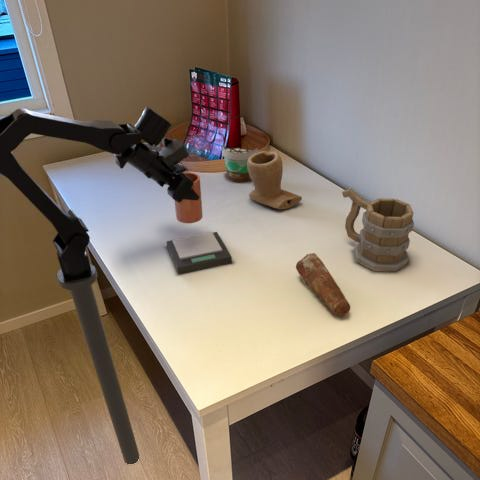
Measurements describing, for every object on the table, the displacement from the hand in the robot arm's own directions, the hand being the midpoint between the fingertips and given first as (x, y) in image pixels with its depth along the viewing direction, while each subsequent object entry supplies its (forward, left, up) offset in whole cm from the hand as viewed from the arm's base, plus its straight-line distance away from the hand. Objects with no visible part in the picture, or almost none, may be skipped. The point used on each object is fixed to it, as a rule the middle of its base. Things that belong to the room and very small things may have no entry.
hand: (192, 192), depth 126 cm
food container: (+22, +29, -13) cm, 38 cm away
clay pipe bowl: (+26, +10, -13) cm, 30 cm away
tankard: (+40, -24, -13) cm, 48 cm away
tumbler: (-1, 0, -7) cm, 7 cm away
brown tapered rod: (+22, -36, -13) cm, 44 cm away
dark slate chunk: (-1, +51, -13) cm, 52 cm away
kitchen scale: (-2, -10, -12) cm, 16 cm away
